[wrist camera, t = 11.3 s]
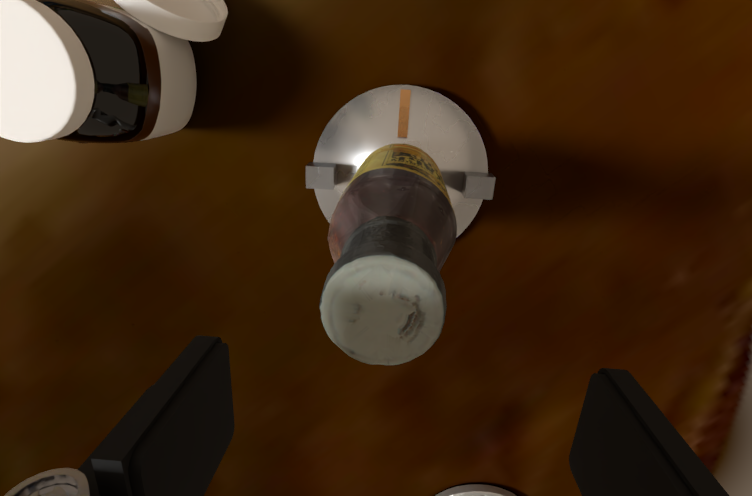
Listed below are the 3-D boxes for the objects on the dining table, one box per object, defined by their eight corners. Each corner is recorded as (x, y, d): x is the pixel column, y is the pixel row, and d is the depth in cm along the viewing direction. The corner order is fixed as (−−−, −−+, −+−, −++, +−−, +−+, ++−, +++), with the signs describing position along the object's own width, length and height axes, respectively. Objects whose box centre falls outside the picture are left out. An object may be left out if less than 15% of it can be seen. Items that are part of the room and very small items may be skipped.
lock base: (474, 258, 35) (480, 271, 32) (313, 247, 35) (306, 260, 33) (500, 89, 30) (509, 91, 28) (312, 79, 30) (304, 79, 28)
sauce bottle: (457, 189, 32) (536, 346, 13) (390, 237, 33) (379, 434, 15) (404, 117, 30) (412, 184, 12) (336, 171, 32) (250, 304, 13)
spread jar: (77, 112, 32) (-84, 129, 22) (65, -64, 28) (-144, -151, 17) (233, 144, 33) (150, 177, 22) (244, -25, 28) (149, -87, 18)
